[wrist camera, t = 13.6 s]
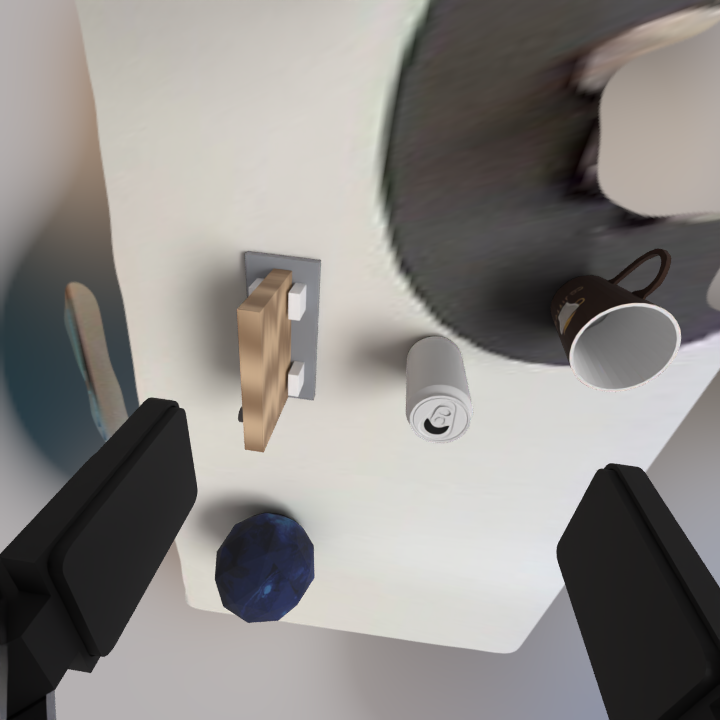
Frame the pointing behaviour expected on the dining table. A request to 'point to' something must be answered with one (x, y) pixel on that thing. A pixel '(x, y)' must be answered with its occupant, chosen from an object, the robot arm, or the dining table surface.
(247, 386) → the door panel
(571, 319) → the coffee mug
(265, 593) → the decorative orb
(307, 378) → the hinge base
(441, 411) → the beverage can
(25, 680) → the robot arm
